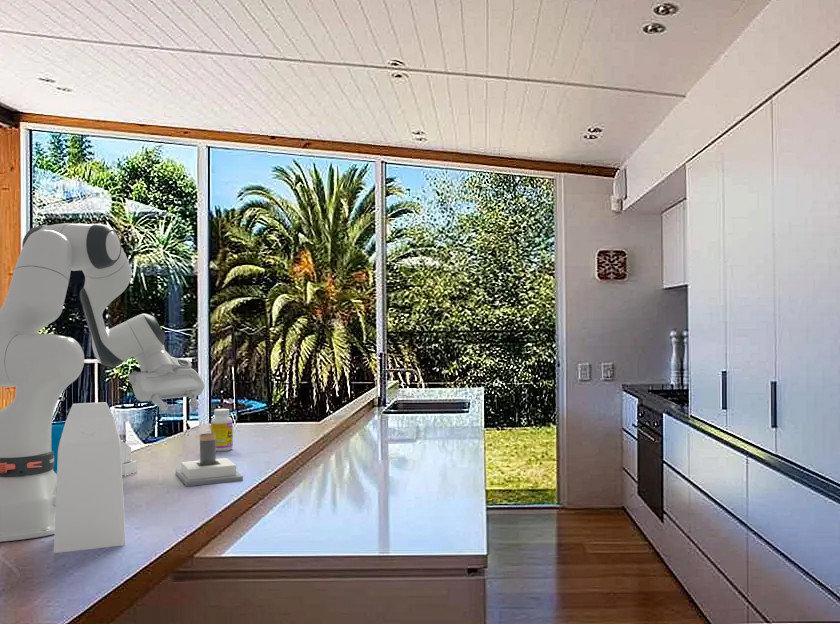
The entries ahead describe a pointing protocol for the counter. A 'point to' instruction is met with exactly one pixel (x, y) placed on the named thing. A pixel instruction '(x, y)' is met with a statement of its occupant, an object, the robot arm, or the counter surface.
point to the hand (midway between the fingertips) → (180, 407)
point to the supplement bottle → (222, 429)
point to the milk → (89, 481)
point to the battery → (207, 449)
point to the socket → (208, 472)
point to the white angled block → (127, 460)
